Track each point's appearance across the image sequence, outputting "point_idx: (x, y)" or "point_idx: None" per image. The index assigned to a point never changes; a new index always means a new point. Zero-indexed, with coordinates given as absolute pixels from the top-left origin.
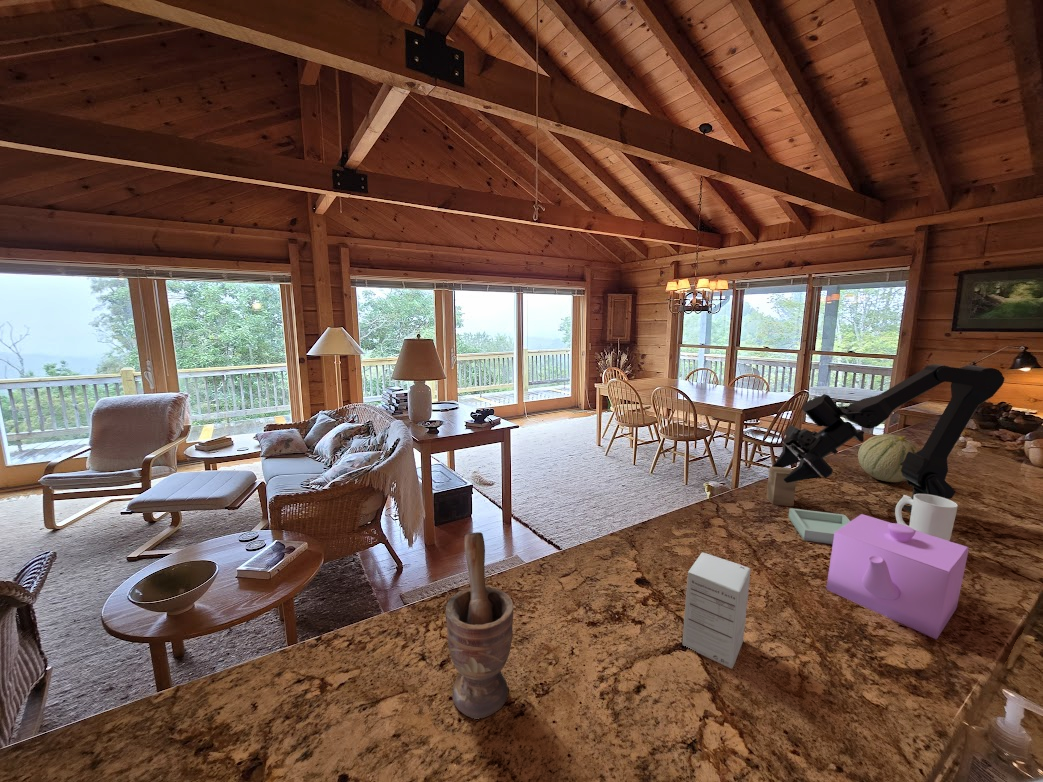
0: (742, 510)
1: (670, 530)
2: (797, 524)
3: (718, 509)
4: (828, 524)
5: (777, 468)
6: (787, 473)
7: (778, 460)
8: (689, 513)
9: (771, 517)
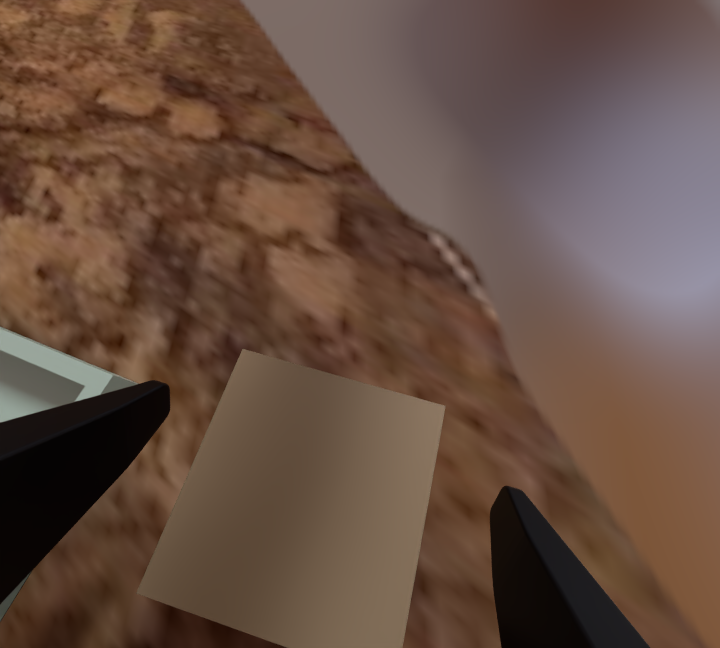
0: (258, 232)
1: (178, 10)
2: (9, 331)
3: (281, 159)
4: None
5: (375, 458)
6: (197, 469)
7: (567, 602)
8: (266, 75)
9: (170, 308)
